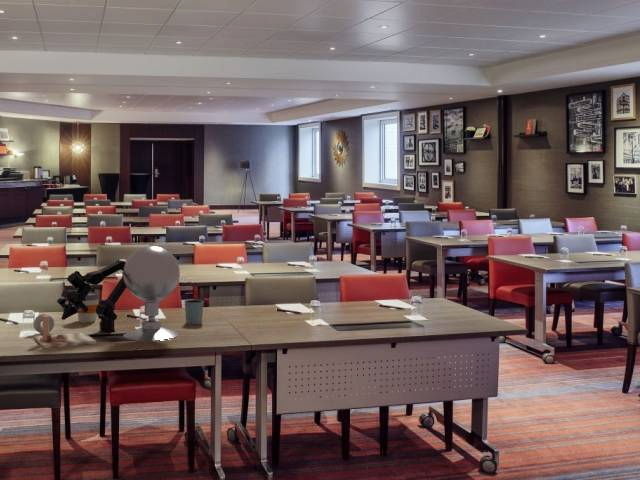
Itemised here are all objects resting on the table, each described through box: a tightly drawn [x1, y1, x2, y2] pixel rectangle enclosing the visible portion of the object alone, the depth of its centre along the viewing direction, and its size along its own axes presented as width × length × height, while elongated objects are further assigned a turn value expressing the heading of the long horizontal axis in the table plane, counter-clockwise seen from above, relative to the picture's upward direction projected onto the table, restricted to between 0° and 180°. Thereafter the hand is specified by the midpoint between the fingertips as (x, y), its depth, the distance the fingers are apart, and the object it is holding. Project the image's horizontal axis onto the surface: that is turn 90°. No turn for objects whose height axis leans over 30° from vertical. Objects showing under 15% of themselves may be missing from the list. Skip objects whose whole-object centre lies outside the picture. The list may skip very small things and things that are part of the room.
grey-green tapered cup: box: [184, 299, 204, 325], centre depth 458 cm, size 10×10×12 cm
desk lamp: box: [122, 245, 181, 342], centre depth 423 cm, size 28×28×45 cm
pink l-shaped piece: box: [40, 316, 67, 341], centre depth 402 cm, size 12×6×11 cm, turn 98°
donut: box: [32, 313, 55, 334], centre depth 422 cm, size 10×4×10 cm, turn 114°
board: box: [33, 332, 97, 349], centre depth 407 cm, size 24×22×4 cm
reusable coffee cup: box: [77, 291, 100, 324], centre depth 456 cm, size 13×13×15 cm
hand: (62, 319), depth 410 cm, fingers closed
